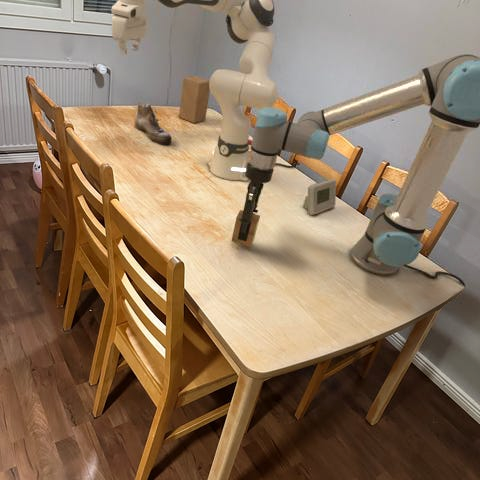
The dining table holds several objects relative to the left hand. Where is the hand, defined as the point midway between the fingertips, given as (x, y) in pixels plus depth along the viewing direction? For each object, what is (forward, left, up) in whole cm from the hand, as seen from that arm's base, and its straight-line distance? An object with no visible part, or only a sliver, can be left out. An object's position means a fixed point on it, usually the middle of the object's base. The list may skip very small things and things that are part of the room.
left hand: (129, 51), depth 155 cm
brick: (+19, +69, -36) cm, 80 cm away
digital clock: (-25, +76, -38) cm, 88 cm away
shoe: (-25, -7, -38) cm, 47 cm away
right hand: (+19, +69, -35) cm, 79 cm away
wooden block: (-60, -12, -38) cm, 72 cm away
